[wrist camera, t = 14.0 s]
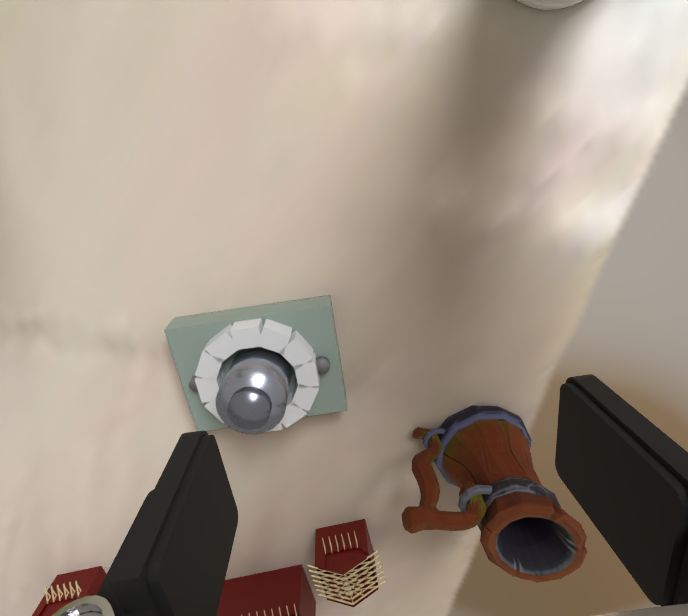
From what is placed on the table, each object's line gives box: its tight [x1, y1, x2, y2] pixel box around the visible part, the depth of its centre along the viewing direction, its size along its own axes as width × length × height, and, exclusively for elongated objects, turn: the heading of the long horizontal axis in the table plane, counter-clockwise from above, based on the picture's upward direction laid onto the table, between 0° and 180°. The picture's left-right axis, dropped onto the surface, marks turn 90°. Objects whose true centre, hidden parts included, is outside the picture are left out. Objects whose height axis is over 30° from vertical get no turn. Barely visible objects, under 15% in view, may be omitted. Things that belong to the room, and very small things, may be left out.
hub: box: [216, 347, 292, 434], centre depth 37 cm, size 6×6×7 cm
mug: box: [402, 406, 587, 582], centre depth 42 cm, size 18×12×15 cm, turn 73°
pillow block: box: [164, 295, 347, 432], centre depth 41 cm, size 16×12×5 cm
